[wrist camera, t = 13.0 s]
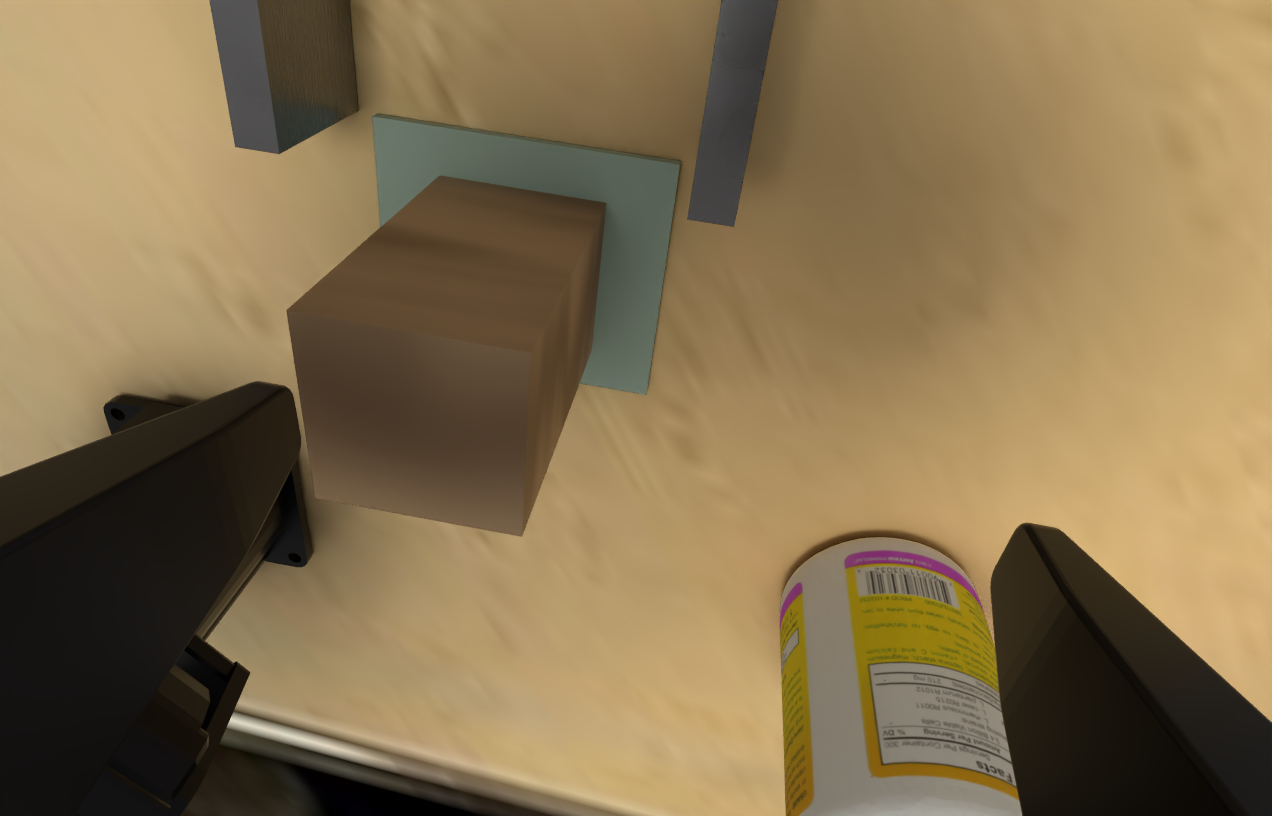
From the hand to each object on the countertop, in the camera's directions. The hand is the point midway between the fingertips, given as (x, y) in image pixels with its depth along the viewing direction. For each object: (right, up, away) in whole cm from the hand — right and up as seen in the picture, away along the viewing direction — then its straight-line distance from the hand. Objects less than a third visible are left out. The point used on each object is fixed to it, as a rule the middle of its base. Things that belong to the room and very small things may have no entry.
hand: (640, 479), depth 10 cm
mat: (-3, +5, +12) cm, 14 cm away
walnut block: (-3, +5, +12) cm, 14 cm away
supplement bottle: (+8, -6, +18) cm, 21 cm away
